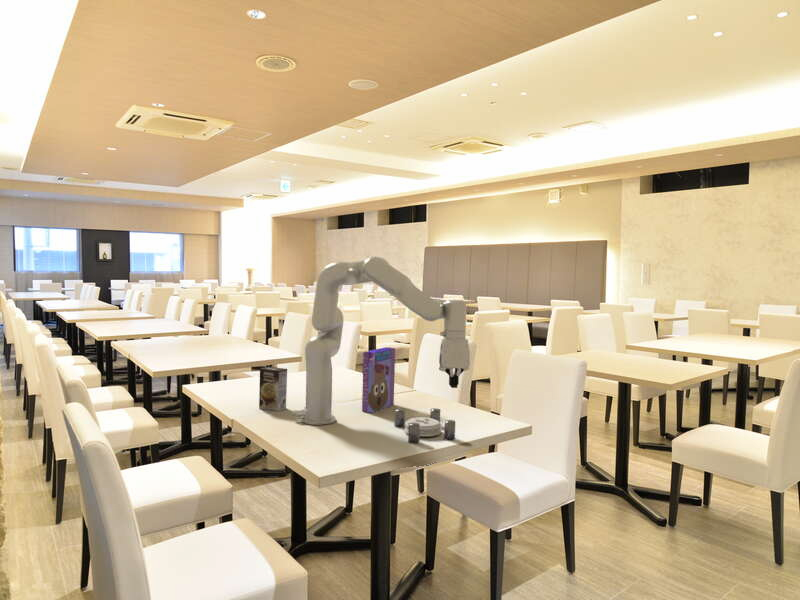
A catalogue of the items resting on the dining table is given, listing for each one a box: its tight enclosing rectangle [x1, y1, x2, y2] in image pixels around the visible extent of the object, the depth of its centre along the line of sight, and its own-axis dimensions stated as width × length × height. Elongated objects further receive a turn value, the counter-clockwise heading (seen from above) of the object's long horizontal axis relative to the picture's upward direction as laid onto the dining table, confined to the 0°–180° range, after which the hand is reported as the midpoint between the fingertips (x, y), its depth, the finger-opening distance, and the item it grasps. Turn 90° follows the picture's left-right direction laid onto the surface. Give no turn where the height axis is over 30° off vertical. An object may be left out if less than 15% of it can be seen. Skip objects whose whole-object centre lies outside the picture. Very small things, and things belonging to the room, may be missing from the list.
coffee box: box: [258, 366, 288, 412], centre depth 220 cm, size 9×6×16 cm
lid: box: [404, 416, 442, 437], centre depth 192 cm, size 13×13×5 cm
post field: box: [394, 407, 456, 444], centre depth 192 cm, size 17×23×6 cm
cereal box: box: [361, 347, 396, 414], centre depth 225 cm, size 17×5×24 cm, turn 152°
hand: (453, 387), depth 194 cm, fingers closed
